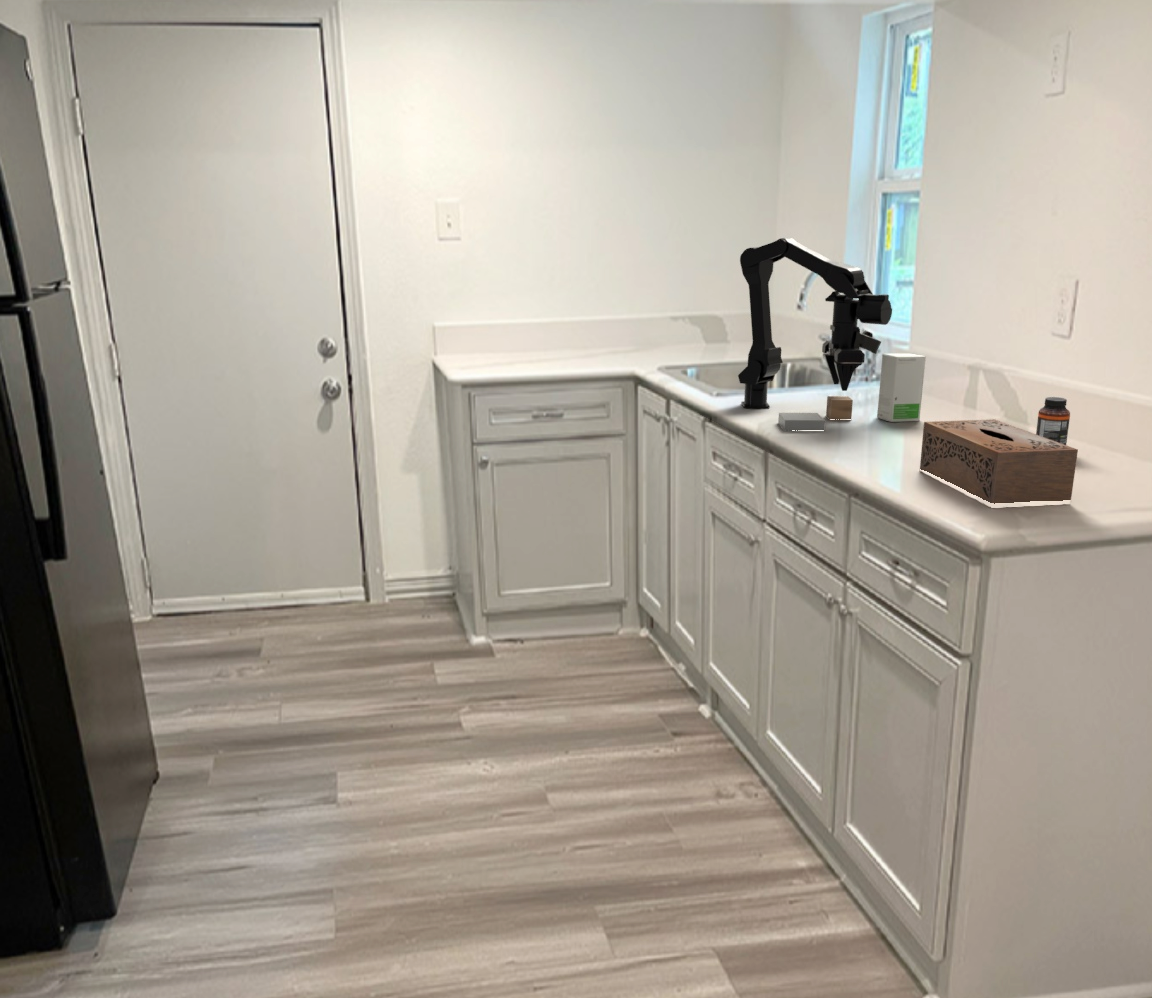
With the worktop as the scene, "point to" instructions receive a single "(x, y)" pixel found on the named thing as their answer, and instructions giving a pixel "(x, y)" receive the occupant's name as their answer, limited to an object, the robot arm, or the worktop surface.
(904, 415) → the skincare box
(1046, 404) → the supplement bottle
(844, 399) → the walnut cube
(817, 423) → the base
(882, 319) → the robot arm
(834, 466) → the worktop surface
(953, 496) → the worktop surface
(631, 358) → the worktop surface
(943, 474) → the tissue box cover
